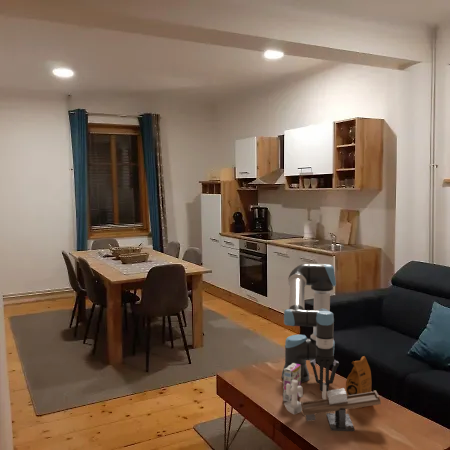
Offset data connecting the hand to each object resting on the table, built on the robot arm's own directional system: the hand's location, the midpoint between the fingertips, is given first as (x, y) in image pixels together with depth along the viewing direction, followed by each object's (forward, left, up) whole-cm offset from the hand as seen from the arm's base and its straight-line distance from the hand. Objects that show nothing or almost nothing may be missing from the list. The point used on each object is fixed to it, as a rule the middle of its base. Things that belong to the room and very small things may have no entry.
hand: (324, 398), depth 211 cm
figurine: (-10, -12, -12) cm, 20 cm away
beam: (0, +8, -6) cm, 10 cm away
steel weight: (0, +6, -2) cm, 7 cm away
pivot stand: (0, +7, -11) cm, 13 cm away
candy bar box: (-24, -12, -12) cm, 29 cm away
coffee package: (-21, +20, -12) cm, 31 cm away
